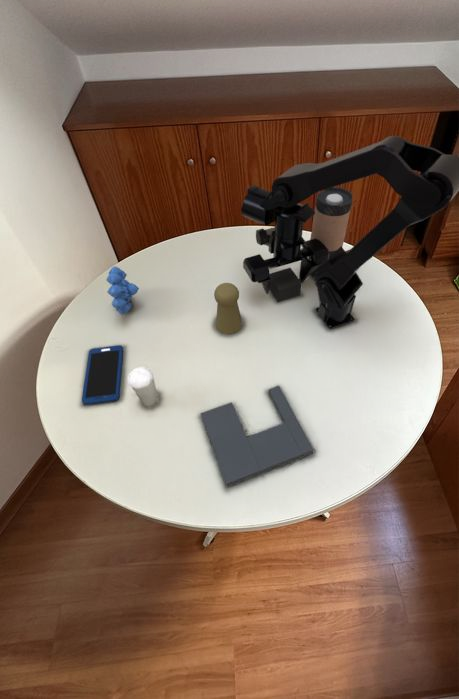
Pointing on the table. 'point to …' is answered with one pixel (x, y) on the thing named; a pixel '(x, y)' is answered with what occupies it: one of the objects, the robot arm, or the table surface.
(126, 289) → the grapes
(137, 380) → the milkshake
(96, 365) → the cell phone
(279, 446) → the base pad
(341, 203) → the travel mug
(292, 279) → the black block
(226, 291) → the olive pawn
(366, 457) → the table surface
